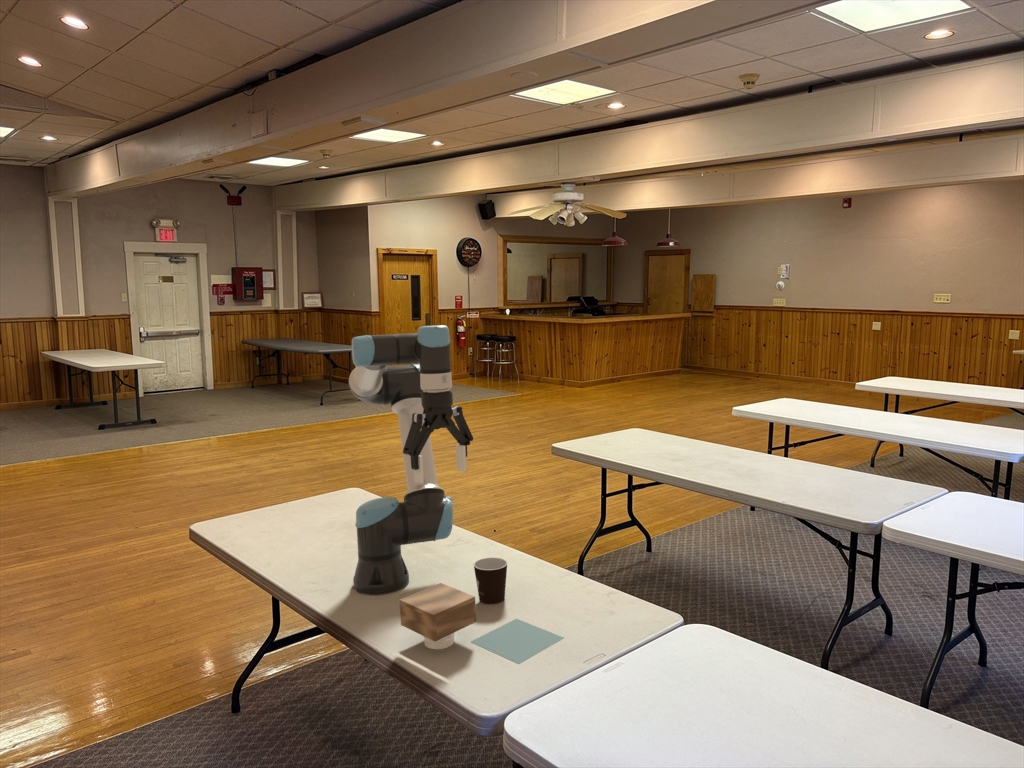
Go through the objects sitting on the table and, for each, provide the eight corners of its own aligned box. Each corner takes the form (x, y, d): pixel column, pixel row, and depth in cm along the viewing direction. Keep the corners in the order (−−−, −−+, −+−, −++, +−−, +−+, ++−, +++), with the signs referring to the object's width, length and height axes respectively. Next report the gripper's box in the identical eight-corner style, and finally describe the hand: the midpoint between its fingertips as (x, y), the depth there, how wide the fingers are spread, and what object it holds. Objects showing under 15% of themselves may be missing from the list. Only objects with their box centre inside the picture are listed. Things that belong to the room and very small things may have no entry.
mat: (470, 644, 158) (470, 641, 158) (516, 620, 169) (516, 618, 169) (518, 666, 148) (518, 663, 148) (564, 640, 159) (564, 637, 159)
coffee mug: (504, 609, 176) (503, 570, 175) (471, 607, 178) (469, 569, 176) (514, 590, 187) (512, 553, 186) (482, 588, 189) (481, 552, 188)
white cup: (429, 656, 154) (427, 612, 153) (417, 641, 161) (414, 599, 160) (462, 647, 157) (460, 604, 156) (449, 632, 164) (446, 592, 163)
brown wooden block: (400, 625, 158) (399, 599, 158) (441, 607, 167) (440, 582, 166) (435, 641, 150) (433, 614, 149) (476, 621, 158) (475, 596, 158)
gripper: (404, 397, 157) (409, 490, 160) (484, 385, 175) (488, 468, 177) (384, 395, 162) (389, 484, 165) (464, 383, 180) (468, 464, 182)
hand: (440, 476), depth 171 cm, fingers open, 13 cm apart
